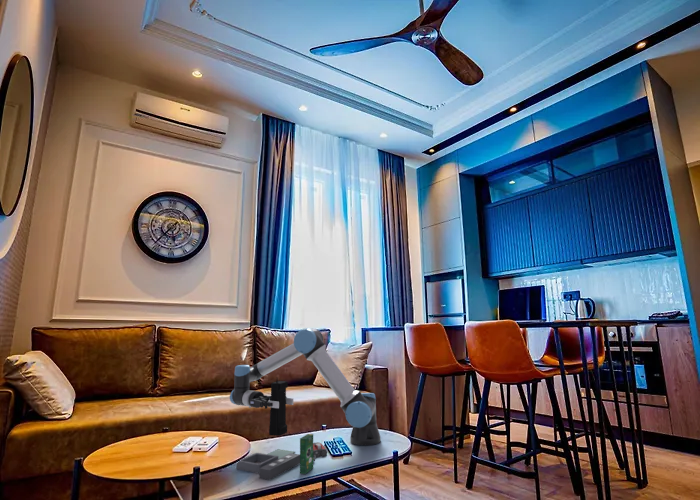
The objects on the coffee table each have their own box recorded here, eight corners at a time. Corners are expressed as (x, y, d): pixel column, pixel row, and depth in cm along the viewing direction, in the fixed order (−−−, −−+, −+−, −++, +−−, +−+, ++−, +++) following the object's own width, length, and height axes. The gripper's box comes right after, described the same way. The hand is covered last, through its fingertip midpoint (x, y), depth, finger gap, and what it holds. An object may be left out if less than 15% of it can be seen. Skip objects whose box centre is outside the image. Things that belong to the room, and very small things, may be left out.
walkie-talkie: (303, 450, 182) (311, 464, 164) (303, 440, 183) (311, 453, 165) (321, 448, 185) (331, 461, 166) (321, 438, 186) (331, 450, 167)
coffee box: (307, 467, 160) (307, 433, 162) (314, 467, 159) (313, 433, 161) (299, 474, 152) (299, 438, 155) (305, 474, 151) (305, 438, 154)
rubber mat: (295, 452, 178) (295, 451, 178) (278, 460, 168) (278, 459, 168) (278, 450, 183) (278, 449, 183) (261, 457, 172) (261, 456, 172)
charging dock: (300, 463, 164) (300, 453, 165) (269, 480, 147) (269, 469, 147) (262, 457, 173) (262, 448, 174) (229, 472, 156) (229, 462, 157)
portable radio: (277, 430, 182) (278, 375, 187) (288, 431, 179) (289, 375, 184) (267, 435, 174) (268, 377, 179) (279, 436, 172) (280, 377, 177)
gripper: (270, 403, 198) (302, 407, 184) (235, 411, 181) (267, 416, 168) (270, 388, 199) (302, 391, 186) (236, 394, 183) (268, 398, 169)
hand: (285, 403), depth 177 cm, fingers closed on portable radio, 8 cm apart
